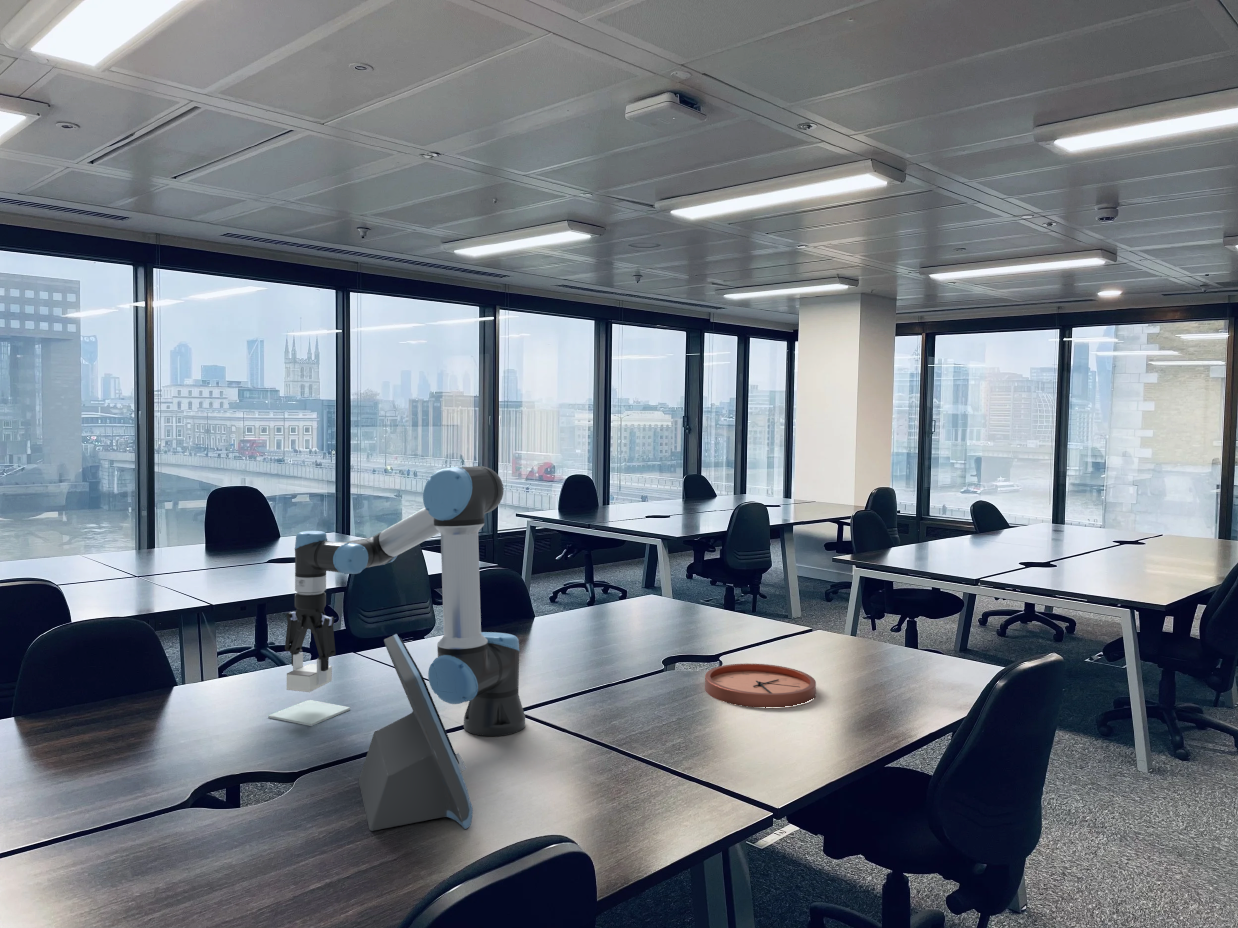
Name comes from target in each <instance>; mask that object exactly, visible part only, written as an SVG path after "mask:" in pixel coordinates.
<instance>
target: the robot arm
mask: <svg viewBox="0 0 1238 928" xmlns="http://www.w3.org/2000/svg"><path fill="white" fill-rule="evenodd" d="M504 491H505V490H504V483H503V481H502V479H501V477H500V476H499V474H498V473H497V472H496V471H494V470H493V469H492V468H489V467H486V466H483V465H475V466H474V465H473V466H452V467H447V468H442V469H439V470H437V471H435V472H434V473H433V474H432V475H431V476H430V477H429V478H428V479H427V480H426V482H425V485H424V489H423V492H422V499H423V500H422V501H423V506H424V507H423V508H421V509H419V510H417V511H416V512H414V513H412V514H410V515H409V516H407V517H405V518H403V519H402V520H400V521H397V522H396V523H394V524H392V525H390V526H389V527H387V528H385V529H383V530H381V531H380V532H378V533H377V534H374V535H373V536H370V537H367V538H361V539H354V540H348V541H330V540H328V537H327V536H328V534H327V533H326V532H325V531H321V530H305V531H300V532H298V533H296V535H295V544H294V553H295V554H294V558H295V559H294V564H295V565H294V566H295V567H294V591H295V594H294V608H295V610H296V611H292V612H287V613H286V620H287V623H286V625H287V626H286V633H285V641H284V642H285V643H284V650H285V651H286V652H287V651H288V652H290V653H289V654H291V657H290V658H291V660H290V661H291V662H290V663H291V666H292V671H293V670H297V669H299V668H301V667H304V652H303V649H302V648H303V644H304V641H305V638H306V635H307V632H308V630H310V632H311V634H313V638H314V642H315V645H316V648H317V649H316V650H317V653H318V656H319V657H317V658H316V664H317V684H318V685H320V684H322V683H325V682H327V670H328V666H329V662H330V661H329V658H330V657H333V656H336V644H335V643H336V642H335V631H334V623H335V617H334V616H327V615H326V612H325V607H326V605H327V592H325V591H327V572H333V573H338V574H339V573H340V574H345V575H349V574H351V575H352V574H353V575H357V574H360V573H361V572H362V571H363V570H365V569H366V568H371V567H377V566H384V565H386V564H389V563H393V562H394V561H395V560H397V557H398V556H399V555H401V554H403V553H405V552H406V551H408V550H410V549H412V548H414V547H416V546H418V545H420V544H421V543H423V542H425V541H428V539H431V538H434V537H435V536H437V535H439V534H440V554H441V555H440V556H441V559H440V560H441V586H442V618H443V619H442V620H443V621H442V622H443V623H442V624H443V636H442V637H441V639H439V640H438V642H437V649H436V650H437V651H436V652H437V657H435V658H434V660H433V661H432V663H431V664H430V665H429V668H428V673H427V677H428V682H429V686H430V688H431V690H432V692H433V693H434V694H435V695H437V697H438V699H440V700H442V702H445V703H448V704H451V705H458V704H459V705H461V704H463V703H467V702H468V704H467V707H466V710H465V712H464V717H463V728H464V730H465V731H466V732H468V733H469V734H472V735H473V734H474V735H477V736H483V737H501V736H508V735H511V734H514V733H517V732H520V731H522V730H524V728H525V726H526V714H525V711H524V708H523V705H522V701H521V698H520V694H519V685H520V683H519V681H520V680H519V679H520V677H519V676H520V652H521V649H520V640H519V638H518V637H517V636H516V635H514V634H511V633H506V632H496V631H494V632H492V631H490V632H489V631H488V632H487V631H482V625H481V622H482V618H481V617H482V616H481V615H482V613H481V589H480V588H481V586H480V585H481V583H480V551H479V546H480V545H479V532H480V530H481V529H482V528H483V527H484V525H485V514H487V513H490V512H492V511H494V510H495V509H496V508H498V506H500V504H501V502H502V499H503V496H504Z"/></svg>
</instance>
